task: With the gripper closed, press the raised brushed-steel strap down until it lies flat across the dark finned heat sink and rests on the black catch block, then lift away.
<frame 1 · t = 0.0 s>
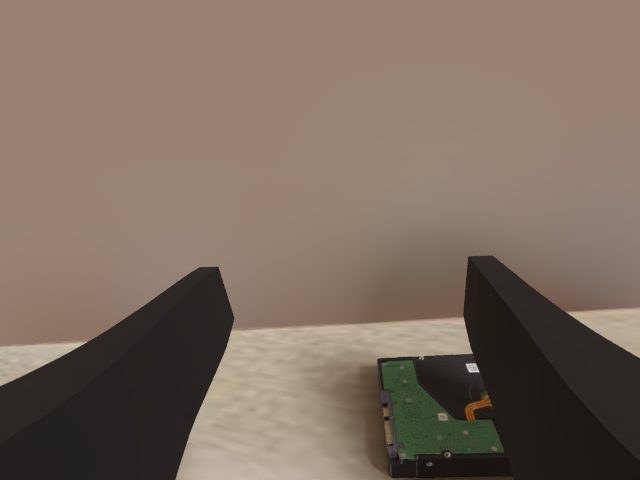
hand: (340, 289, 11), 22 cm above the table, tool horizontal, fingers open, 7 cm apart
disk drive: (471, 422, 31), on the table
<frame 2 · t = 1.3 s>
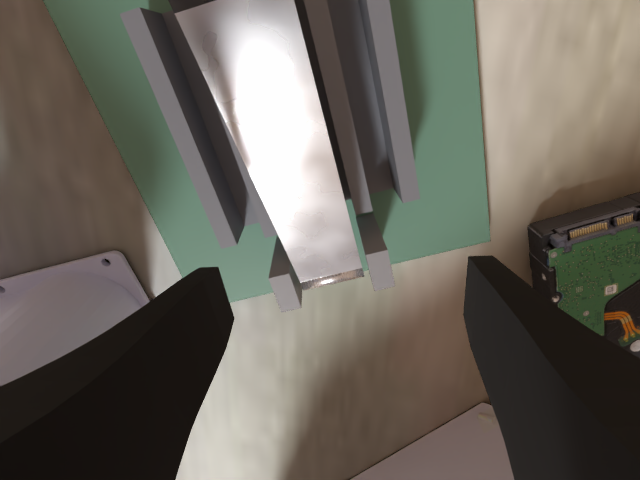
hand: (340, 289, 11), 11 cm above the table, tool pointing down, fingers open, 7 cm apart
game console: (385, 478, 33), on the table
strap: (290, 160, 13), point 7 cm above the table, hinge at 20.0°
disk drive: (606, 292, 25), on the table
board: (291, 105, 19), on the table
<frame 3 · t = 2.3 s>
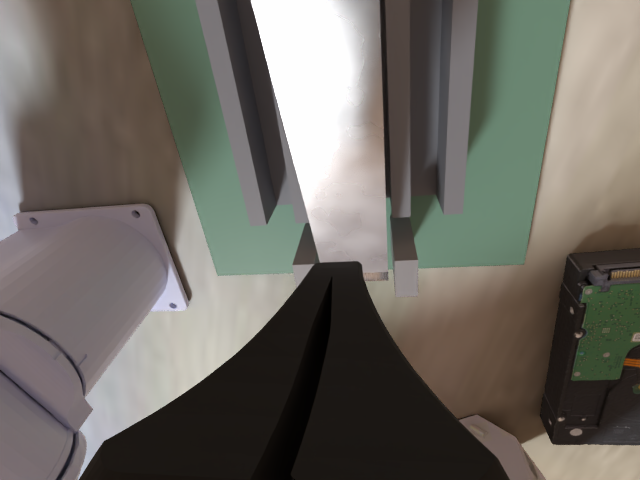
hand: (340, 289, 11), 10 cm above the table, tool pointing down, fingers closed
game console: (366, 462, 34), on the table
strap: (339, 156, 13), point 7 cm above the table, hinge at 20.0°
disk drive: (632, 336, 24), on the table
board: (346, 89, 18), on the table
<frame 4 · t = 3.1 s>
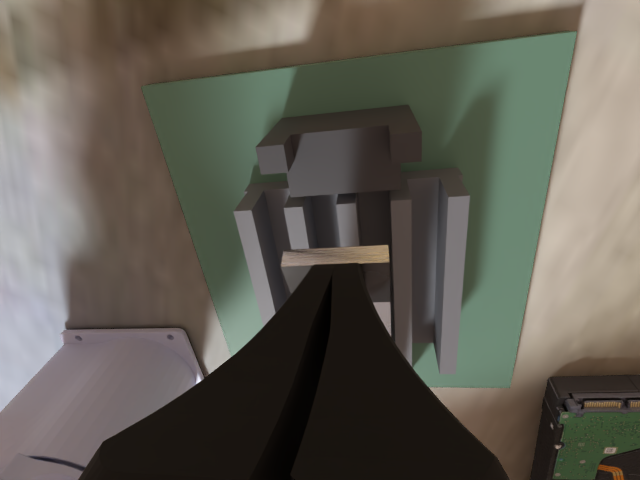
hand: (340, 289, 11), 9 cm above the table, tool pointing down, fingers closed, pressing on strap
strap: (355, 362, 16), point 7 cm above the table, hinge at 19.0°, touching gripper
disk drive: (606, 435, 27), on the table
board: (357, 255, 21), on the table
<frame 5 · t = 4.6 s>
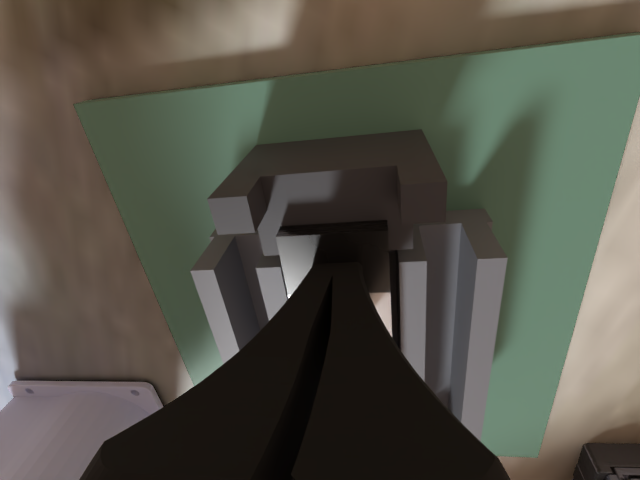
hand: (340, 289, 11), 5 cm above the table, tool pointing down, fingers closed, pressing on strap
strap: (352, 402, 14), point 4 cm above the table, hinge at -0.2°, touching gripper
board: (355, 306, 17), on the table
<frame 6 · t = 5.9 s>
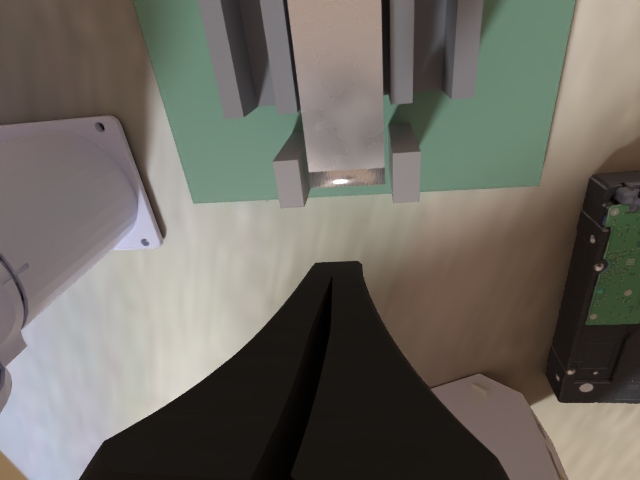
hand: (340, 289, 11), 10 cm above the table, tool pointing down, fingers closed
game console: (358, 430, 32), on the table
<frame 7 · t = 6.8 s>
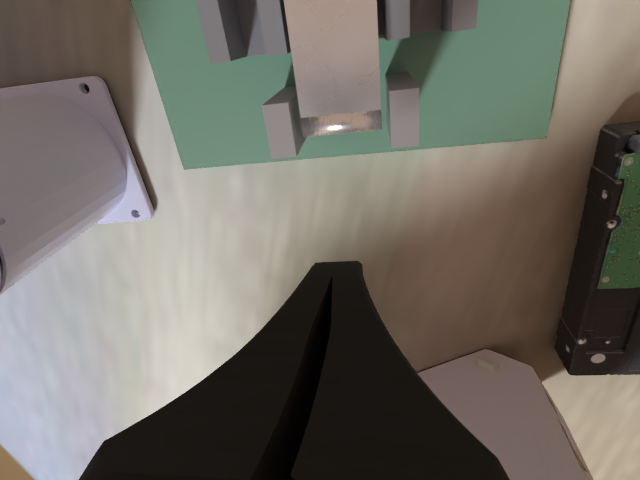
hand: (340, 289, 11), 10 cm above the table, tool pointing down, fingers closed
game console: (361, 413, 31), on the table
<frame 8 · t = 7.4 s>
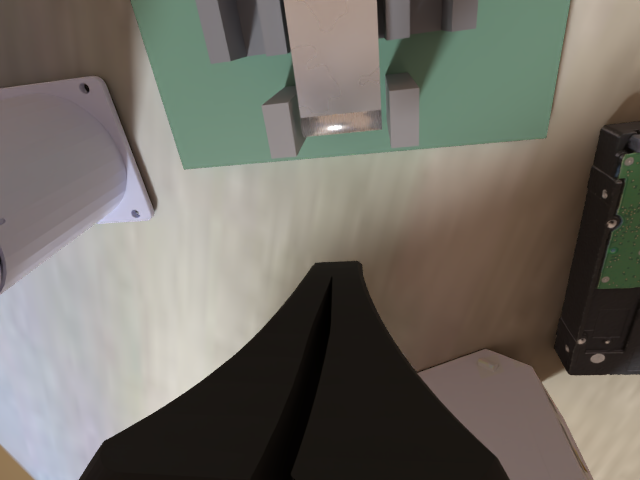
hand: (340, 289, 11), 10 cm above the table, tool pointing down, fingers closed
game console: (361, 413, 31), on the table
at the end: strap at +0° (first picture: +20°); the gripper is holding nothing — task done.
